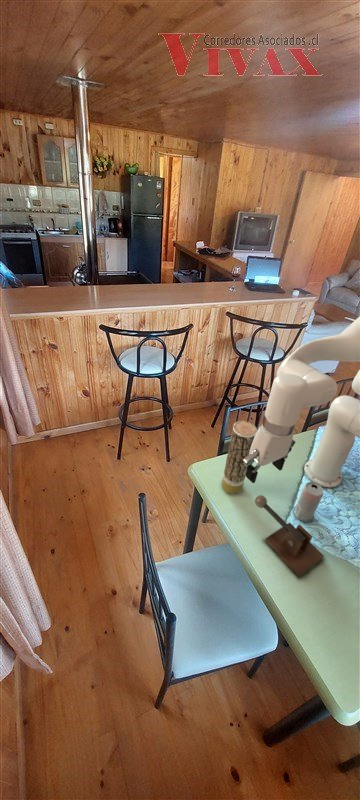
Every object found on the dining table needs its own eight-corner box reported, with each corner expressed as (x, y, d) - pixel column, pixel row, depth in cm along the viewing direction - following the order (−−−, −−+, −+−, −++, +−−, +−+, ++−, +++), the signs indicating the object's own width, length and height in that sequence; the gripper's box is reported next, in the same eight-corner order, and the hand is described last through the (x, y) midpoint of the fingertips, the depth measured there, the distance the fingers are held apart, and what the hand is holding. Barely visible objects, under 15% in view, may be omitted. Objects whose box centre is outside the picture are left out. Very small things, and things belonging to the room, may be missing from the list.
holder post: (251, 503, 99) (253, 495, 97) (259, 498, 101) (262, 491, 99) (296, 549, 88) (299, 541, 86) (304, 543, 89) (308, 535, 87)
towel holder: (264, 541, 93) (270, 525, 89) (288, 525, 98) (294, 510, 94) (298, 578, 85) (305, 562, 81) (322, 558, 90) (330, 543, 86)
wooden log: (241, 496, 106) (256, 437, 92) (220, 492, 107) (232, 433, 92) (242, 481, 111) (257, 423, 97) (222, 477, 112) (234, 419, 98)
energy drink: (312, 511, 103) (324, 485, 96) (310, 525, 99) (323, 498, 92) (295, 505, 104) (306, 479, 98) (292, 517, 100) (303, 491, 93)
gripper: (292, 406, 85) (276, 454, 95) (241, 424, 78) (229, 474, 87) (315, 422, 80) (296, 471, 90) (262, 443, 72) (248, 494, 82)
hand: (263, 473), depth 89 cm, fingers open, 9 cm apart
